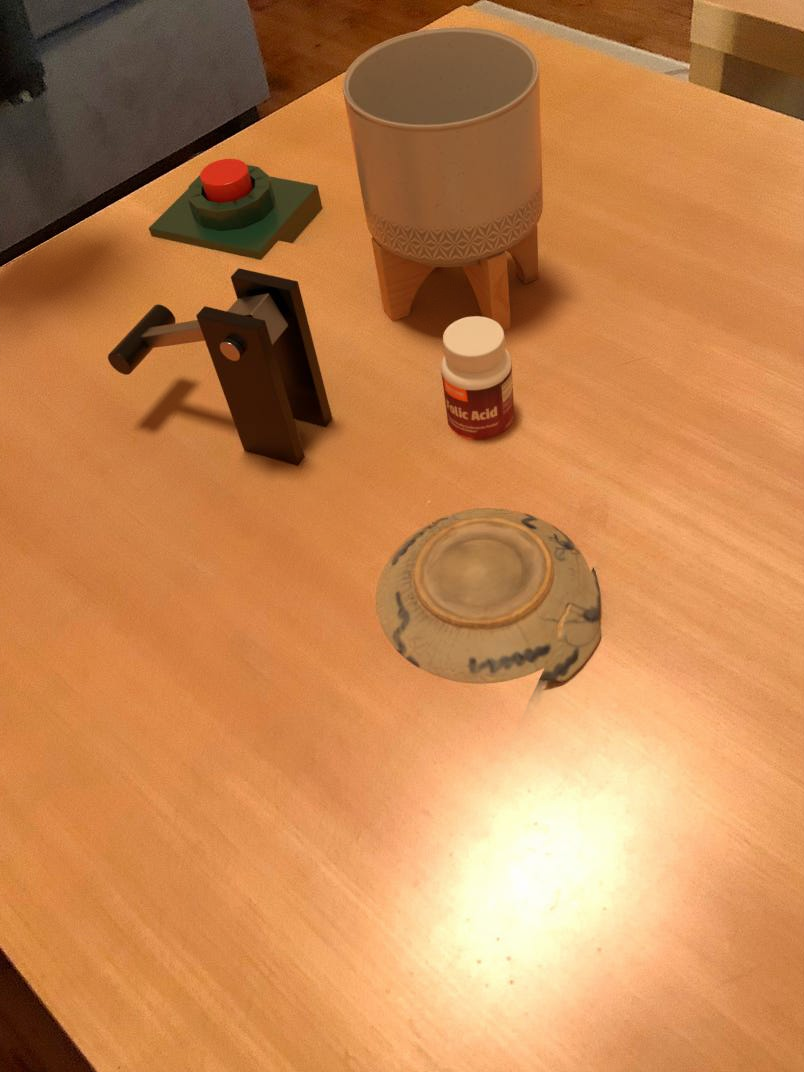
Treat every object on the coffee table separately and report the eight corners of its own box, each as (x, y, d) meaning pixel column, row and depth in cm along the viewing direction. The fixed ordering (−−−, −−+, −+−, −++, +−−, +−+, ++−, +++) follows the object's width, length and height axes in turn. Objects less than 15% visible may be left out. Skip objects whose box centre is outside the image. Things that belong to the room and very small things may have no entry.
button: (196, 200, 88) (190, 180, 86) (222, 174, 90) (216, 155, 88) (237, 208, 87) (231, 188, 85) (261, 182, 89) (256, 162, 87)
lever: (121, 379, 72) (99, 350, 70) (166, 330, 74) (146, 301, 73) (258, 363, 64) (236, 330, 63) (301, 309, 67) (282, 277, 65)
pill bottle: (441, 451, 73) (428, 355, 67) (458, 404, 76) (446, 308, 69) (507, 458, 72) (500, 363, 66) (522, 412, 75) (517, 315, 68)
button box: (156, 250, 90) (141, 208, 87) (218, 187, 95) (205, 145, 92) (265, 274, 87) (253, 231, 84) (322, 208, 92) (313, 165, 89)
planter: (576, 316, 81) (576, 83, 66) (427, 377, 78) (394, 148, 63) (495, 234, 88) (480, 8, 73) (356, 288, 85) (311, 64, 70)
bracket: (189, 471, 74) (125, 322, 64) (254, 390, 79) (205, 239, 68) (336, 514, 71) (294, 364, 60) (395, 427, 75) (366, 273, 65)
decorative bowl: (523, 750, 59) (652, 570, 66) (519, 717, 56) (654, 532, 63) (320, 640, 65) (457, 485, 71) (307, 605, 62) (451, 446, 68)
